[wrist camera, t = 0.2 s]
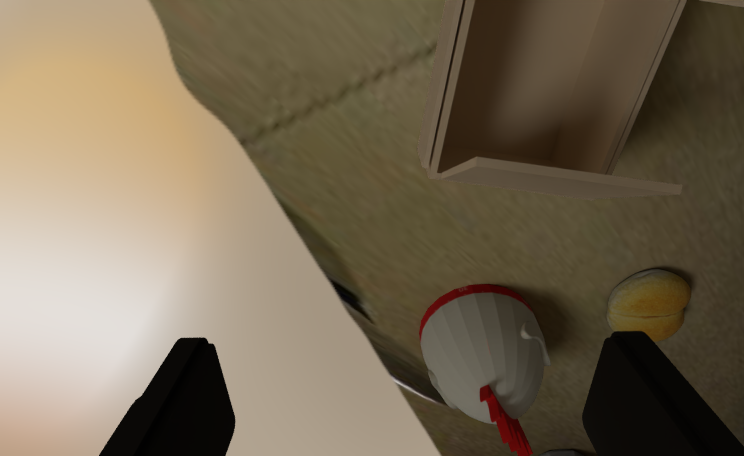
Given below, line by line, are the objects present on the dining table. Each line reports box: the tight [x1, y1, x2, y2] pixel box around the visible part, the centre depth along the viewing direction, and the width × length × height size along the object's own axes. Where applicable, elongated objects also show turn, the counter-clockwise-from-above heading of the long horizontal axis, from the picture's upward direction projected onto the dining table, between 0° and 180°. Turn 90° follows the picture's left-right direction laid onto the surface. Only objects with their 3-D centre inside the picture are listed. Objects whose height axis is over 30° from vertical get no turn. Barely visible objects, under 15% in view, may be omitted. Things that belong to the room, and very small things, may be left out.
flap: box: [441, 157, 682, 199], centre depth 26 cm, size 1×11×9 cm, turn 83°
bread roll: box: [607, 269, 691, 342], centre depth 45 cm, size 8×9×4 cm
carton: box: [417, 0, 687, 200], centre depth 31 cm, size 17×14×9 cm
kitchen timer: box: [419, 284, 551, 456], centre depth 42 cm, size 14×14×15 cm
